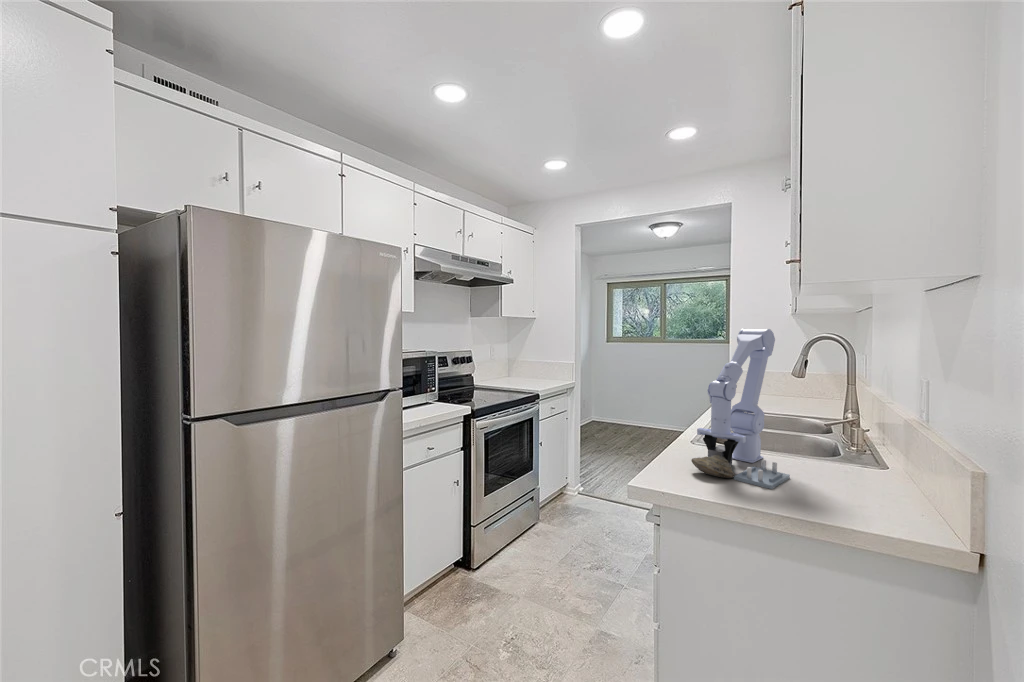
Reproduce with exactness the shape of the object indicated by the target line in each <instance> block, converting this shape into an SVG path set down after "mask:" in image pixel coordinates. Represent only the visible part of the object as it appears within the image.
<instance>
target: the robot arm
mask: <svg viewBox="0 0 1024 682" xmlns="http://www.w3.org/2000/svg"><path fill="white" fill-rule="evenodd" d="M736 342H737V346H736V349H735V351H734V353H733V355H732V358H731V360H730V362H726V363H725V364H724V365H723V367H722V369H721V370H720V373H719V374H718V375H717V377H716V379H715V380H713V381H711V382H710V383H709V385H708V388H707V391H706V392H707V395H708V397H709V403H710V404H711V405H710V406H711V412H710V428H704V427H703V428H702V427H698V428H697V430H696V435H698V436H704V437H702V440H703V442H704V444H705V446H706V449H707V450H708V449H710V448H713V447H715V446H717V439H722V440H724V441H723V446H725V459H726V460H727V461H728V463H730V461H731V457H732V460H737V461H741V462H746V463H751V464H754V463H755V462H757V461H758V462H759V461H761V460H763V459H764V456H762V455H761V449H762V448H761V447H762V445H761V444H762V440H761V438H762V437H761V436H760V434H761V432H763V430H764V427H765V414H766V413H765V412H764V410H763V409H761V407H760V406H759V401H760V395H761V391H762V387H763V382H764V377H765V373H766V368H767V364H768V360H769V357H770V356H772V354H773V351H774V347H775V342H776V337H775V335H774V331H773V330H772V329H770V328H766V329H765V328H763V329H762V328H758V329H757V328H756V329H755V328H754V329H752V328H747V329H746V328H741V329H740V330H739V331H738V334H737V335H736ZM748 358H750V359H749V364H748V367H747V371H746V377H745V381H744V385H743V389H742V393H741V397H740V401H739V402H737V403H735V404H734V405H732V401H733V399H734V398H735V396H736V392H737V387H738V385H737V384H738V381H739V380H740V378H741V376H742V374H743V373H744V370H743V368H742V367H743V365H744V363H745V362H746V361H747V359H748ZM731 431H732V432H731Z"/></svg>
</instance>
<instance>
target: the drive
mask: <svg viewBox="0 0 1024 682" xmlns="http://www.w3.org/2000/svg"><path fill="white" fill-rule="evenodd" d="M713 455H716V456H717V455H719V456H722V457H724V458H725V446H724V445H721V444H719V445H716V446H715V447H713V448H710V449H707V457H712V456H713ZM729 464H730V466H732V465H733V459H732V457H731V461H730V463H729Z"/></svg>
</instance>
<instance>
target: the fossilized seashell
mask: <svg viewBox="0 0 1024 682" xmlns="http://www.w3.org/2000/svg"><path fill="white" fill-rule="evenodd" d="M690 460H691V462H692V465H693V466H695V468H697V469H698V470H699V471H701V472H703V474H705V475H708V476H709V475H710V476H714V477H719V478H724V479H731V478H734V476H735V475H736V474H735V473H734V471H733V470H732V465H730V464H729V463H728V461H727V460H726V459H725V458H724V457H722V456H719V455H717V456H716V455H713V456H712V457H708V456H702V457H693V458H692V459H690Z"/></svg>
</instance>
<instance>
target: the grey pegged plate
mask: <svg viewBox="0 0 1024 682" xmlns="http://www.w3.org/2000/svg"><path fill="white" fill-rule="evenodd" d="M760 463H761V464H760V465H761V467H759V466H758V467H757V466H747V467H746V469H745V470H743V471H741V472H739V473H737V474H734V475H735V476H734V477H733V480H735V481H738V482H742V483H745V484H750V485H754V486H758V487H761V488H766V489H769V490H773V489H775V488H776V487H778V486H779V485H781V484H782V483H785V482H786V481H787V480H788V479H790V478H791V477H790V475H791V474H790V473H789V474H788V473H785V472H779V471H778V462H775V461H772V465H771V467H772V468H771V470H770V469H767V460H766V459H761V460H760Z"/></svg>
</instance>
